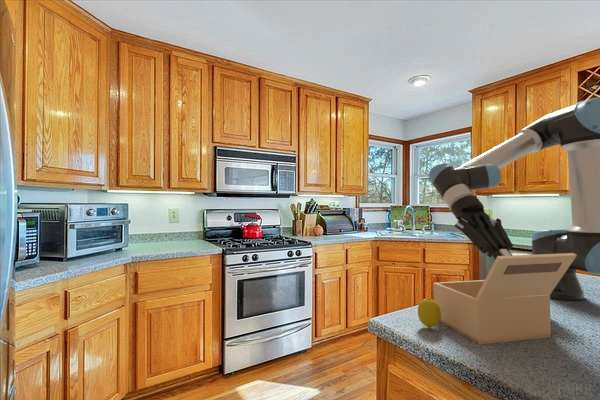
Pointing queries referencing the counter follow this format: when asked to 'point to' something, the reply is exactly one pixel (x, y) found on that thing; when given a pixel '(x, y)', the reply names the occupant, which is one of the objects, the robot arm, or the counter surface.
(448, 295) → the carton
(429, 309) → the lemon
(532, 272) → the carton flap
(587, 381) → the counter surface
